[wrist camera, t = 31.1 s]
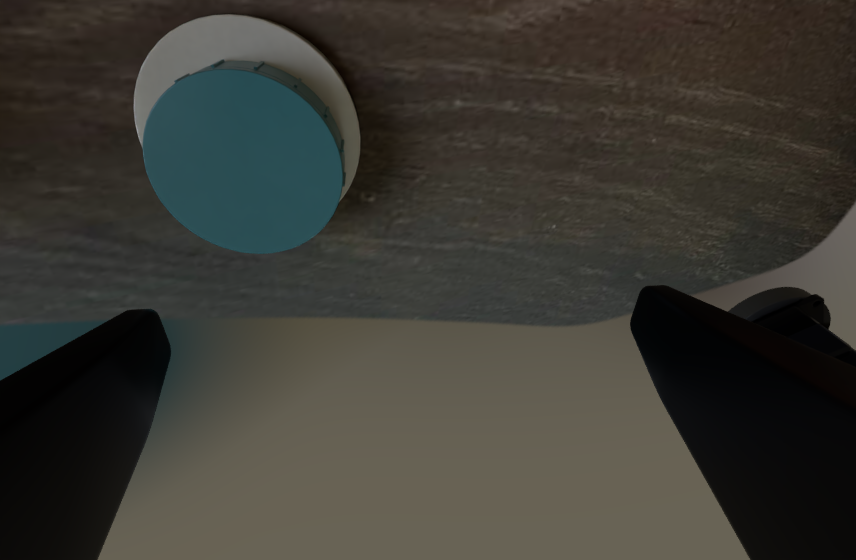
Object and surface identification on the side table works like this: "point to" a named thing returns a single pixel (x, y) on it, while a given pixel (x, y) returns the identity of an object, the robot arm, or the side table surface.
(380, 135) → the side table surface
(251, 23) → the saucer
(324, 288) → the side table surface
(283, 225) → the lid
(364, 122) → the side table surface
